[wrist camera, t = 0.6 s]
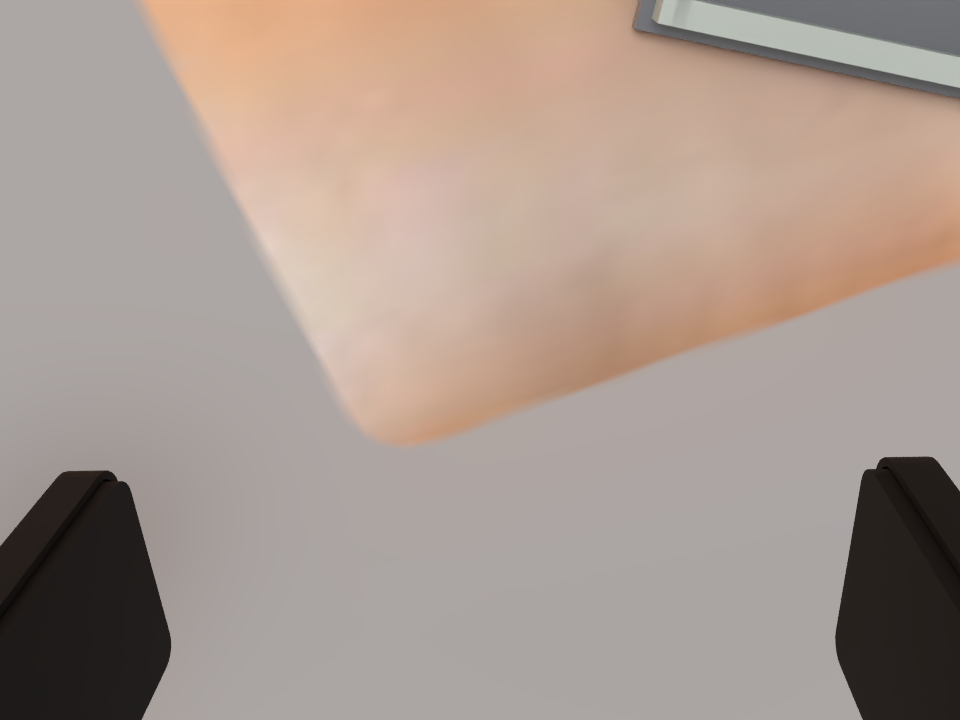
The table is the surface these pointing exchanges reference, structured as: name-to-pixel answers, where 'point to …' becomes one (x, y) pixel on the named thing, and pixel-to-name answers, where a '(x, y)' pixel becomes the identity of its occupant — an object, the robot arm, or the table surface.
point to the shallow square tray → (827, 35)
